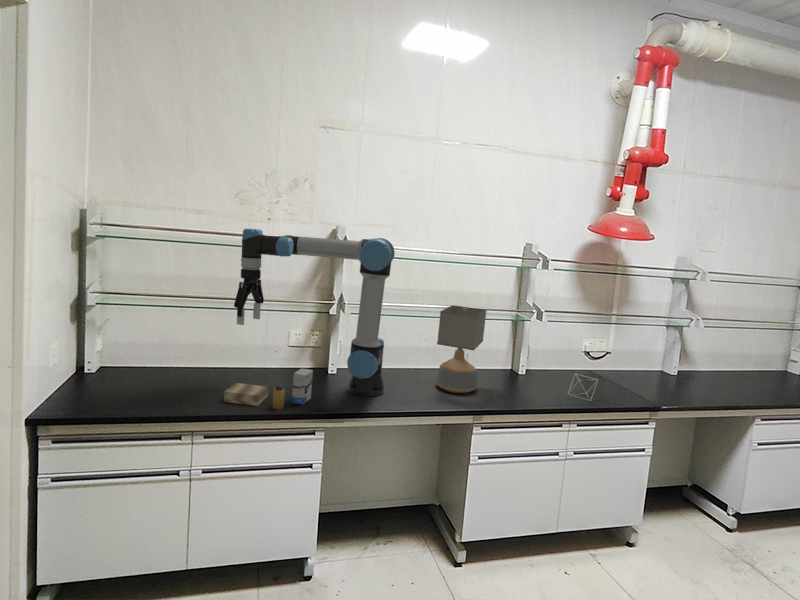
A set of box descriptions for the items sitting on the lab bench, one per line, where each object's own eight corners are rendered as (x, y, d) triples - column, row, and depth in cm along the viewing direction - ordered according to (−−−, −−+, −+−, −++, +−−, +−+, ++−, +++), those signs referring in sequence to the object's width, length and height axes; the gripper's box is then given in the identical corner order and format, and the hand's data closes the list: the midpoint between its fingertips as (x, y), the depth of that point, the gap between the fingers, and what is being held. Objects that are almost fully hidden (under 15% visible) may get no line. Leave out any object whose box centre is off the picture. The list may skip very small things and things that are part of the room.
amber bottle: (285, 406, 201) (286, 385, 200) (281, 410, 197) (282, 388, 196) (274, 405, 201) (275, 384, 200) (271, 408, 197) (272, 387, 196)
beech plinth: (267, 396, 210) (268, 386, 209) (257, 405, 199) (258, 395, 198) (235, 392, 211) (235, 382, 210) (223, 401, 200) (224, 391, 199)
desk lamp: (471, 399, 229) (481, 314, 223) (428, 391, 235) (437, 308, 229) (481, 386, 249) (490, 308, 244) (441, 378, 255) (449, 302, 250)
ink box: (303, 405, 204) (305, 375, 202) (291, 403, 205) (292, 373, 203) (311, 398, 212) (313, 369, 210) (299, 396, 213) (301, 367, 211)
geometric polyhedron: (575, 390, 256) (577, 372, 255) (598, 396, 249) (600, 378, 248) (564, 396, 246) (567, 376, 245) (588, 402, 240) (590, 382, 238)
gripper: (256, 265, 223) (254, 315, 227) (225, 269, 199) (223, 325, 202) (273, 267, 222) (271, 317, 225) (244, 271, 198) (242, 328, 201)
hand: (248, 321), depth 214 cm, fingers open, 13 cm apart
